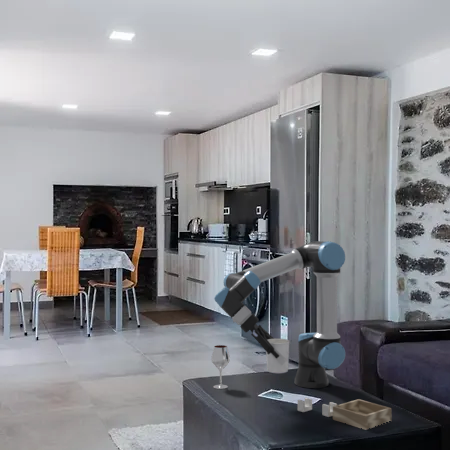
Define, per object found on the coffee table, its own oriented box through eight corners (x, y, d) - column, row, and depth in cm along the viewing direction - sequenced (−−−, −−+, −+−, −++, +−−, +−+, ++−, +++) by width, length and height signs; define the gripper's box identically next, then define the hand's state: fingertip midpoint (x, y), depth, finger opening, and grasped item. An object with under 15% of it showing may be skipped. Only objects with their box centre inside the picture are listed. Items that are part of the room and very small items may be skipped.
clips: (311, 406, 242) (311, 396, 242) (337, 414, 232) (337, 403, 232) (297, 410, 237) (297, 400, 237) (323, 418, 227) (323, 407, 227)
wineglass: (218, 383, 277) (218, 344, 277) (233, 386, 272) (233, 346, 272) (207, 387, 270) (207, 346, 270) (222, 390, 265) (222, 349, 265)
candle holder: (288, 374, 239) (288, 343, 239) (263, 373, 241) (263, 342, 241) (291, 368, 248) (290, 338, 248) (267, 367, 250) (266, 338, 250)
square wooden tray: (358, 411, 235) (358, 399, 235) (391, 421, 224) (391, 408, 224) (332, 419, 226) (332, 406, 226) (365, 429, 214) (365, 416, 214)
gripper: (243, 321, 258) (281, 360, 255) (234, 330, 237) (276, 373, 234) (255, 309, 257) (294, 348, 254) (248, 317, 236) (289, 359, 233)
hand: (285, 360), depth 244 cm, fingers closed on candle holder, 9 cm apart
